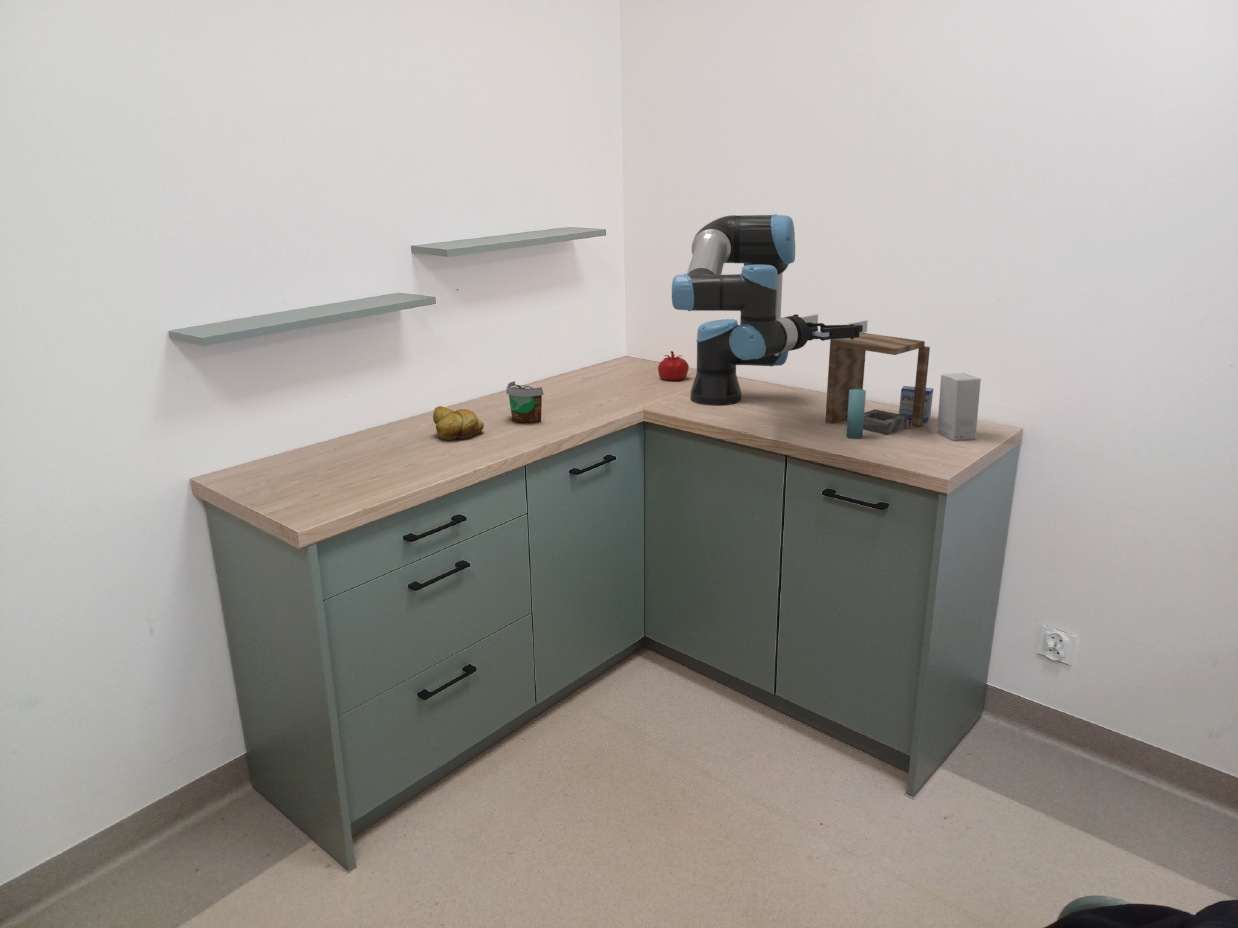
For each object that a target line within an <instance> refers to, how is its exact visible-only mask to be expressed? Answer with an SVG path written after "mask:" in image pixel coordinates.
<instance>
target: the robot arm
mask: <svg viewBox="0 0 1238 928" xmlns="http://www.w3.org/2000/svg"><path fill="white" fill-rule="evenodd" d="M795 236H796V235H795V223H794V221H793V219H792V217H790V216H789V215H783V214H777V213H775V214H752V215H749V214H748V215H747V214H745V215H736V214H735V215H734V214H733V215H725V216H721V217H719V218H716V219H714V220H711V221H710V222H709V223H707V224H706V225H704V226H703V227H701V228H700V229H699V230H698V231H697V233H696V234H695V235H694V237H693V240H692V244H691V254H692V257H691V260H690V262H689V266H688V269H687V272H686V273H683V274H676V275H674V276H673V278H672V283H671V304H672V307H673V308H674V309H675V310H678V311H688V312H692V311H694V312H698V311H702V312H703V311H704V312H706V311H709V312H710V311H711V312H715V311H717V312H721V311H722V312H723V311H726V312H732V311H733V312H737V311H738V312H739V313H740V319H739V320H740V321H739V322H740V324H739V322H738V320H737V319H734V318H725V319H715V320H711V321H707V322H704V323H702V324H700V325H699V326H698V328H697V334H696V340H695V342H696V373H695V377H694V381H693V383H692V386H691V390H690V400H691V401H692V402H694V403H697V404H702V405H711V406H724V405H726V406H727V405H731V404H736V403H739V402H741V401H742V390H741V386H740V383H739V378H738V376H737V366H752V367H753V366H756V367H758V366H759V367H774V366H777V367H778V366H784V364H786V361H787V359H788V357H789V352H790V351H796V350H800V349H801V348H804V346H806V344H807V342H808V341H813V340H820V341H822V342H823V341H824V342H825V341H830V339H843V338H850V339H854V338H858V337H859V335H860V334H861V333H868V320H867V319H863V320H859V321H854V322H850V323H848V324H827V325H826V324H824V323H822V322H818V321H819V314H818V313H817V314H816V313H815V314H809V315H804V316H800V315H799V314H793V315H789V316H784V317H782V300H783V299H782V297H783V296H782V294H783V278H784V277H783V273H784V272H785V271H786V270H787V268H788V267H789V265H790V264H793V263H794V262H795V260H796V239H795V238H796V237H795ZM724 264H743V266H742V268H741V272H740V274H739V273H738V274H735V273H733V274H732V273H731V274H723V273H722V272H723V268H724V266H725V265H724ZM819 327H820V329H819Z"/></svg>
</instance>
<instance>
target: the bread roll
mask: <svg viewBox="0 0 1238 928" xmlns="http://www.w3.org/2000/svg"><path fill="white" fill-rule="evenodd" d="M432 415H433V416H432V419H433V423H434V424H435V429H436V434H437V435H438V436H439V437H440V439H443V440H448V441H450V440H455V439H457V438H458V439H466V438H469V437H473V436H474V435H477V434H480V433H481V432H482V431H483V430H484V428H485V427H484V426H485V424H484V422H483V421H482V420H481V419H479V418H478V416H477V414H476V413H475V412H474V411H471V410H469V409H466V408H459V409H457V410H455V411H454V410H452V409H451V408H448V407H445V406H442V405H438V406H436V407H435V408H434V411H433V414H432Z"/></svg>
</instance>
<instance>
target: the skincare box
mask: <svg viewBox="0 0 1238 928" xmlns="http://www.w3.org/2000/svg"><path fill="white" fill-rule="evenodd" d="M981 379H982V378H980V377H976V376H973V375H971V374H968V373H965V372H955V373H944V374H940V385H939V386H940V387H939V400H938V401H939V403H938V415H937V429H936V432H937V434H938V435H941V436H943V437H945V438H947V439H949V440H951V441H953V442H955V441H956V442H957V441H967V440H968V441H971V440H975V439H976V438H977V437H976V436H977V427H978V414H979V404H980V391H981V390H980V389H981V382H982V381H981Z"/></svg>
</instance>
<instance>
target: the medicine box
mask: <svg viewBox="0 0 1238 928" xmlns="http://www.w3.org/2000/svg"><path fill="white" fill-rule="evenodd" d="M914 393H915V386H909V385H903V386H902V388H901V389H900V399H899V409H898V414H900V415H905V416H908V422H912V414H913V403H914ZM933 395H934V388H932V387H926V393H925V403H924V413H923V423H929V422H930V420H931V415H932V407H933V398H934V397H933Z"/></svg>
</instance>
